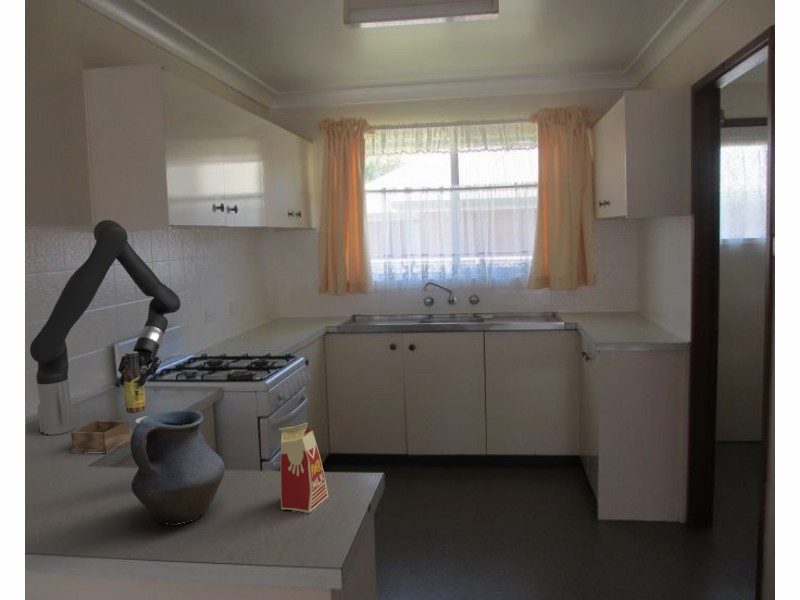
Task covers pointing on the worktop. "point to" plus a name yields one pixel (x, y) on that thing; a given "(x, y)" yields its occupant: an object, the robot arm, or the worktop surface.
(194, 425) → the pitcher
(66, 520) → the worktop surface
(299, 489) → the milk carton
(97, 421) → the open wooden box
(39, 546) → the worktop surface
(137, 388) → the sauce bottle
